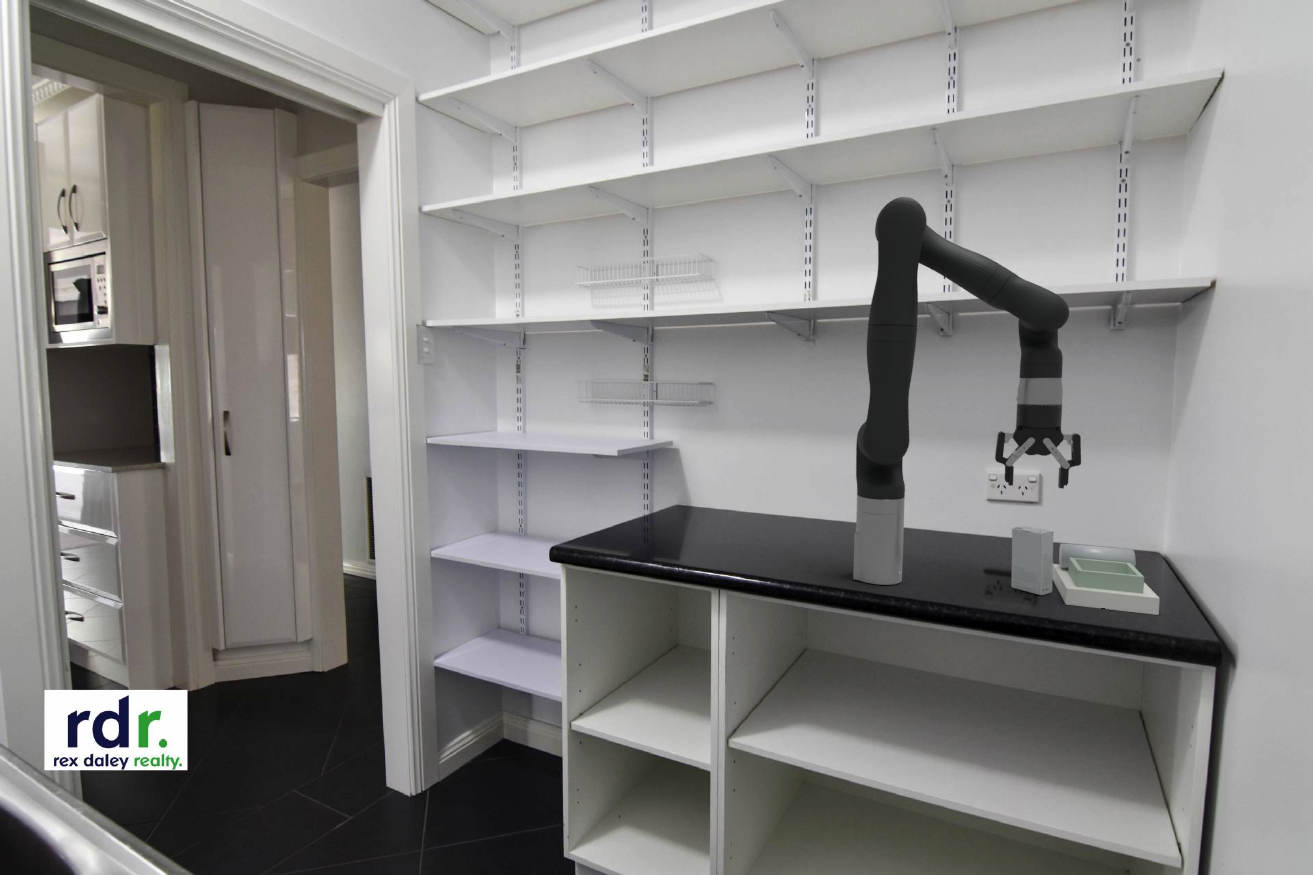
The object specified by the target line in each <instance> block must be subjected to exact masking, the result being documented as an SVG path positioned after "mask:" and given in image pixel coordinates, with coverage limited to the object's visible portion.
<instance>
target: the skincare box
mask: <svg viewBox="0 0 1313 875" xmlns="http://www.w3.org/2000/svg"><path fill="white" fill-rule="evenodd" d="M1053 564H1054V531H1052V530H1048V529H1047V530H1046V529H1042V528H1037V527H1031V526H1027V525H1022V526H1016V527H1013V528H1011V582H1010V583H1011V588H1013V589H1015V590H1020V591H1024V592H1027V593H1031V594H1035V595H1039V596H1044V595H1047V594H1051V593H1053V579H1052V577H1053Z"/></svg>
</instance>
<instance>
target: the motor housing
mask: <svg viewBox="0 0 1313 875" xmlns="http://www.w3.org/2000/svg"><path fill="white" fill-rule="evenodd" d="M1069 557H1070V558H1081V559H1092V560H1103V561H1115V562H1126V563H1131V564H1132V565H1133V566H1134V567H1135V568H1136V565H1137V564H1136V553H1135V549H1133V548H1123V547H1121V548H1120V547H1109V546H1100V545H1099V546H1098V545H1097V546H1095V545H1087V544H1086V545H1085V544H1075V543H1073V544H1071V543H1060V545H1059V553H1058V558H1059V559H1058V561H1059V564H1058V563H1053V577H1052V582H1053V583H1054V584H1055V587H1056V589H1057V591H1058V592H1059V594H1060V596H1061V598H1062V600H1063V602H1064V604H1065V605H1066V606H1069V605H1070V606H1076V607H1084V608H1085V607H1086V608H1093V609H1101V608H1105V609H1104V610H1110V611H1111V610H1112V611H1121V612H1128V613H1129V612H1130V613H1139V614H1147V615H1154V616H1155V615H1156V616H1159V612H1160V599H1161V598H1160V597H1159V596H1158V595H1157V593H1155V592H1154V591H1153V590H1152V588H1150V587H1149V585H1148V584H1147V583H1146V582H1144V590H1143V593H1133V592H1123V591H1114V590H1104V589H1095V588H1085V587H1077V585H1076V584H1075V582H1074V581H1073V579H1072V577H1071V576H1070V574H1069V573H1068V569H1069Z"/></svg>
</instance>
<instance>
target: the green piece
mask: <svg viewBox="0 0 1313 875" xmlns="http://www.w3.org/2000/svg"><path fill="white" fill-rule="evenodd" d="M1068 573H1069V574H1070V576H1071V577H1072V579H1073V581H1074V582H1075V584H1076V585H1077V587H1085V588H1095V589H1104V590H1114V591H1123V592H1133V593H1143V590H1144V583H1145V576H1144V575H1143V574H1142V573H1141V572H1140V571H1139V570H1138V569H1137V568H1136V566H1135V567H1134V566H1133V565H1132V564H1131V563H1126V562H1115V561H1103V560H1092V559H1081V558H1070V557H1069V569H1068Z"/></svg>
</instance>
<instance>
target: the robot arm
mask: <svg viewBox="0 0 1313 875" xmlns="http://www.w3.org/2000/svg"><path fill="white" fill-rule="evenodd" d="M927 220H928V218H927V214H926V210H924V207H923V206H922V204H920V202H918V201H917V200H916V199H914V198H913V197H908V196H900V197H895V198H894V199H892V200H890V201H889V202H887V203H886V204H885V205H884V206H883V207H882V209H881V210H880V211H879V213H878V215H877V218H876V220H875V221H876V222H875V228H874V234H875V238H876V241H877V250H878V253H877V261H878V262H877V272H876V273H877V274H876V281H875V284H874V289H873V294H872V298H871V303H870V304H871V305H870V307H869V308H870V310H869V315H868V321H867V322H868V323H867V334H866V366H867V374H868V382H869V383H868V384H869V401H868V409H867V415H866V420H865V422H864V423H862V425H861V426H860V428H859V429H858V432H857V435H856V444H855V445H856V447H855V448H856V450H855V451H856V452H855V454H856V455H855V462H856V463H855V480H856V514H855V515H856V516H855V518H856V520H855V523H856V524H855V525H856V526H855V533H854V535H853V537H854V539H853V540H854V541H853V572H852V574H853V575H852V577H853V578H852V579H853V580H856V581H860V582H863V583H867V584H872V585H884V586H886V585H887V586H888V585H889V586H891V585H897V584H899V583H901V582H902V581H903V562H904V561H903V559H904V558H903V556H904V529H905V528H904V527H905V497H906V494H905V493H906V484H905V480H904V473H903V471H904V470H903V464H904V463H903V457H904V456H905V455H906V454H907V452H908V450H909V446H910V420H909V419H910V417H909V415H910V412H909V410H910V409H909V403H910V401H909V398H910V396H909V395H910V387H911V382H912V375H913V369H914V362H915V361H914V360H915V353H916V345H917V344H916V343H917V334H918V319H919V318H918V313H919V293H918V292H919V289H918V288H919V287H918V286H919V285H918V274H919V273H918V271H919V264H920V265H922V266H924V267H927V268H929V269H930V270H932V271H934V272H935V273H937V274H939V275H941V276H943V277H944V278H946V279H947V280H949V281H950V282H952V283H954V284H955V285H957V287H960V288H962V289H963V290H964V291H966V292H967V293H969V294H971V295H972V296H974V297H975V298H977V299H979V300H980V301H982V302H983V303H985V304H987V305H988V306H991V307H992V308H995V309H997V310H1001V311H1005V312H1007V313H1009V314H1010V315H1012V316H1014V317H1015V318H1017V319H1018V325H1017V326H1018V328H1017V329H1018V338H1019V346H1020V361H1019V362H1020V363H1019V381H1018V386H1017V396H1016V418H1015V419H1016V420H1015V430H1014V431H1013V432H1004V431H1001V430H999V431H998V432H997V434H996V436H997V437H996V446H995V455H994V460H995V462H996V463H998V464H1002V465H1003V466H1004V481H1005V482H1006V483H1007V484H1008V486H1009V487H1010V486H1012V487H1013V486H1014V472H1015V470H1014V469H1015V467H1014V465H1015V463H1016V462H1017V461H1018V460H1019V459H1020V458H1021V457H1022V456H1023V455H1024V454H1025V455H1028V456H1037V455H1038V456H1044V457H1047V456H1049V455H1051V456H1053V458H1054V459H1055V460H1056V461H1057V463H1058V464H1059V466H1060V467H1058V480H1057V481H1058V482H1057V485H1058V486H1057V487H1058V488H1059V489H1064V488H1065V486H1066V487H1067V486H1068V484H1069V475H1070V473H1069V472H1070V469H1071V468H1073V467H1078V466H1081V465H1082V453H1081V452H1082V447H1081V445H1082V440H1081V435H1080V434H1078V433H1076V432H1073V433H1069V434H1068V433H1067V434H1065V433H1064V434H1063V432H1062V417H1063V416H1062V414H1063V413H1062V412H1063V399H1064V398H1063V395H1064V394H1063V393H1064V392H1063V391H1064V389H1063V388H1064V386H1063V364H1064V362H1063V360H1064V359H1063V358H1064V357H1063V351H1062V350H1061V348H1060V347H1059V339H1058V338H1059V330H1060V329H1061V328H1062V327H1064V325H1065V324H1066V323H1067V322H1068V320H1069V317H1070V308H1069V306H1068V303H1067V302H1066V300H1064V298H1062V297H1061V296H1060V295H1059V294H1057V293H1056V292H1053V291H1052V290H1050V289H1047V288H1045V287H1044V286H1041V285H1039V284H1037V283H1034V282H1031V281H1029V280H1026V279H1024V278H1022V277H1020V276H1019V275H1018V274H1016V273H1015V272H1014V271H1013V272H1012V270H1010V269H1008V268H1007V267H1006V266H1003V265H1002V264H1000V263H998V262H997V261H995V260H993V259H991V258H989V257H988V256H985V255H983V254H980V253H979V252H976V251H974V250H971V249H968V248H965V247H964V246H963V247H962V246H960V245H958V244H956V243H954V242H952V241H950V240H949V239H947V238H945V237H943V236H941V235H940V234H939V233H937V232H936V231H935V230H933V229H932V228H931V227H930V226H929V225H928V224H927ZM1011 439H1013V441H1014V442H1015V443H1016V445H1017V447H1016V448H1015V449H1014V450H1013V451H1012V452H1011V454H1010V455H1009V456H1008V457H1004V452H1005V451H1004V450H1005V444H1008V443H1009V442H1010V440H1011ZM1064 440H1065V441H1066V443H1067V445H1069V446H1070V455H1071V458H1070V459H1066V458H1065V457H1064V455H1063V454H1062V453H1061V451H1059V449H1058V447H1059V446H1060V444H1062V443H1063V441H1064Z"/></svg>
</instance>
